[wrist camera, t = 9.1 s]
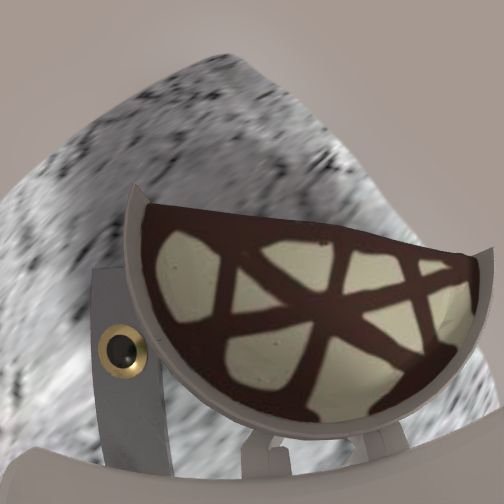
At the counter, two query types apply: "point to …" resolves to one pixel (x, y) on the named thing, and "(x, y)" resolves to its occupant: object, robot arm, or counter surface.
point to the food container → (301, 316)
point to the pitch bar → (126, 381)
